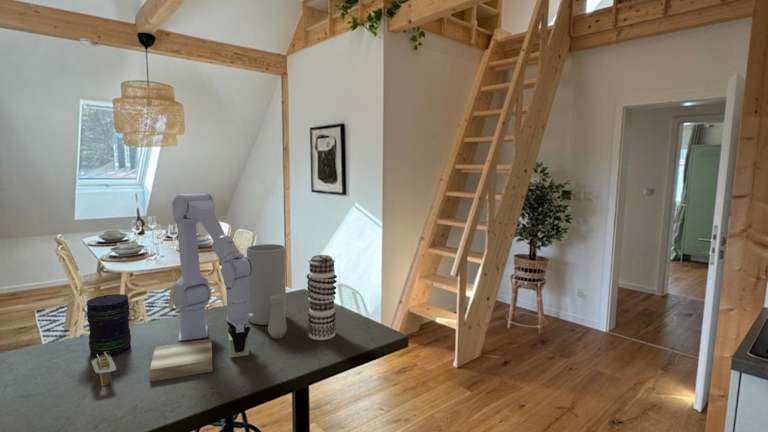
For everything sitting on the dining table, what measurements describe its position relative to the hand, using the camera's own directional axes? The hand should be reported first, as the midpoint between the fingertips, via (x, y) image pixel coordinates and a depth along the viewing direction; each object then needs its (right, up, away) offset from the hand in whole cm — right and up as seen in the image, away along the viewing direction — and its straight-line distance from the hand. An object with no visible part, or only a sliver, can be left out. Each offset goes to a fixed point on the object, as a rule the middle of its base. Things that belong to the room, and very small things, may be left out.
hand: (238, 347), depth 117 cm
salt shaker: (+8, 0, +12) cm, 15 cm away
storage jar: (-36, -1, 0) cm, 36 cm away
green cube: (0, -1, 0) cm, 1 cm away
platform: (-27, -4, -16) cm, 32 cm away
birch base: (-12, -2, -7) cm, 14 cm away
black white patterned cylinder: (+21, 0, +14) cm, 25 cm away
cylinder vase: (+1, +1, +26) cm, 26 cm away
